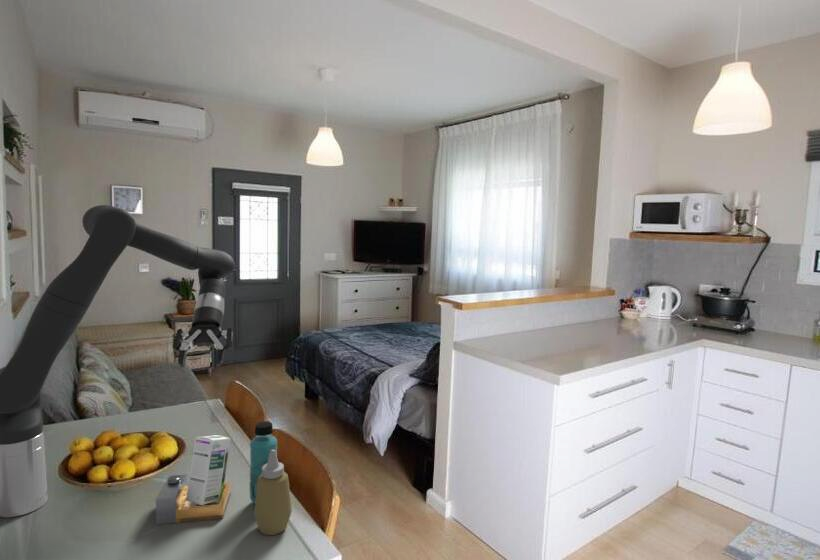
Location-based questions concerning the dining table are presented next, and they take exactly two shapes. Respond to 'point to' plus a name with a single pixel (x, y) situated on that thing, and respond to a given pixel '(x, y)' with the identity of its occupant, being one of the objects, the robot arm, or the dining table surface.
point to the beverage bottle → (260, 453)
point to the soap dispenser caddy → (186, 503)
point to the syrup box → (208, 469)
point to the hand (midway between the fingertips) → (199, 365)
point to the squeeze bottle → (272, 497)
